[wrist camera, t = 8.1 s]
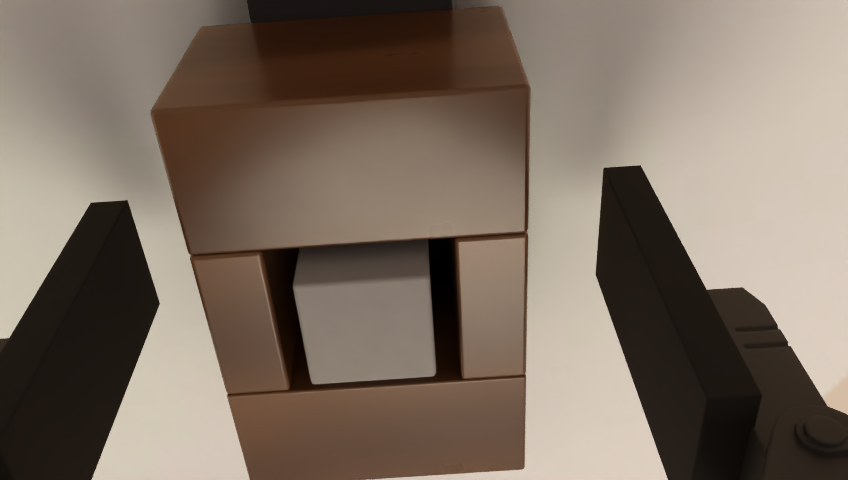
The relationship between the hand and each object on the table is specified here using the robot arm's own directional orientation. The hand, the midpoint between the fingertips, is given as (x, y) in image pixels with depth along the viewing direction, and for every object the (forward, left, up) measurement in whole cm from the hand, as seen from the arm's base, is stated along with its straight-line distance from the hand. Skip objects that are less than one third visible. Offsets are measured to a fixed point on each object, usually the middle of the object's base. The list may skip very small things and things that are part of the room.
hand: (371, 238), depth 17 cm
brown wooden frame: (0, 0, -1) cm, 1 cm away
